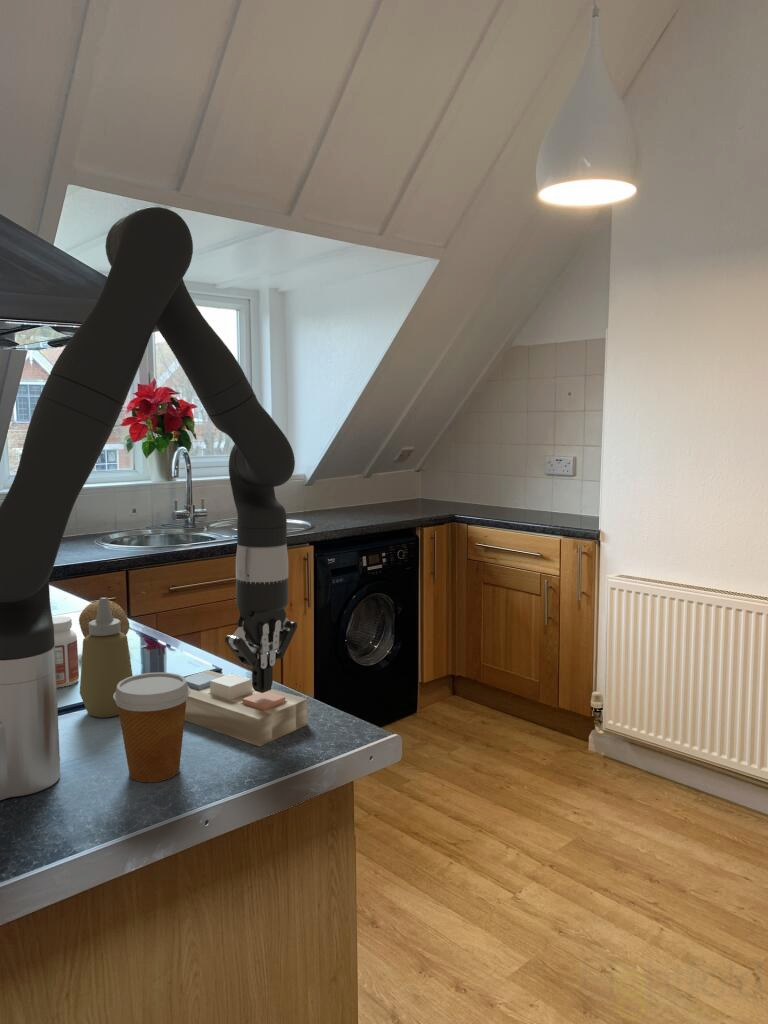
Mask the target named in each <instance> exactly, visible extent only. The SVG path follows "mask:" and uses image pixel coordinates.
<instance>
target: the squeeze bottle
mask: <svg viewBox="0 0 768 1024" xmlns="http://www.w3.org/2000/svg"><path fill="white" fill-rule="evenodd" d="M108 600H109V599H108V597H99V600H98V601H99V605H98V611H97V616H96V620H93V621H91V622H89V635H88V636H86V637H84V638H83V639H82V652H81V663H80V665H81V667H80V678H79V679H80V680H79V681H80V683H79V695H80V699H81V700H82V702H83V704H84V707H85V710H86V712H87V714H88V715H89V716H91V717H94V718H111V717H117V716H119V711H118V706H117V704H116V702H115V700H114V698H113V695H114V693H115V692H116V688H117V685H118V683H119V682H120V681H122V680H124V679H126V678H128V677H131V676H134V674H133V668H132V661H131V655H130V654H131V653H130V648H129V639H128V636H127V635H125V634H123V633H122V632H120V631H121V626H120V620H119V619H115V618H113V616H112V612H111V609H110V605H109V601H110V600H109V601H108Z"/></svg>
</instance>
